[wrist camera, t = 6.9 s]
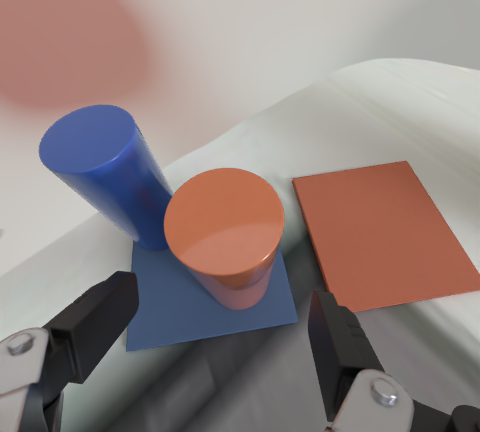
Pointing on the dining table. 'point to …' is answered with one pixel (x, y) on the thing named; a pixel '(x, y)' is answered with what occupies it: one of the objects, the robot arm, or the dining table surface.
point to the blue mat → (196, 303)
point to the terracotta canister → (226, 233)
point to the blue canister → (111, 170)
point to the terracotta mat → (381, 238)
